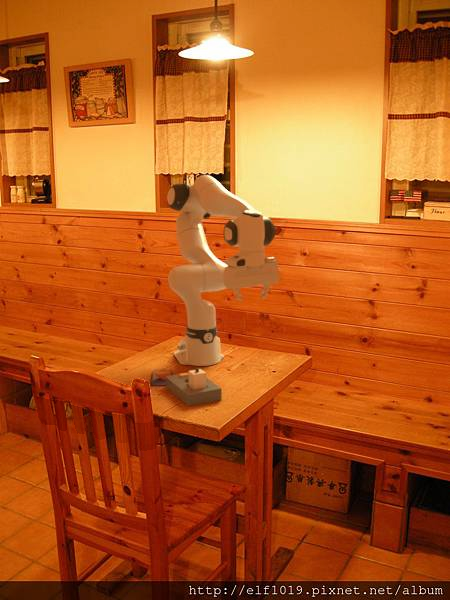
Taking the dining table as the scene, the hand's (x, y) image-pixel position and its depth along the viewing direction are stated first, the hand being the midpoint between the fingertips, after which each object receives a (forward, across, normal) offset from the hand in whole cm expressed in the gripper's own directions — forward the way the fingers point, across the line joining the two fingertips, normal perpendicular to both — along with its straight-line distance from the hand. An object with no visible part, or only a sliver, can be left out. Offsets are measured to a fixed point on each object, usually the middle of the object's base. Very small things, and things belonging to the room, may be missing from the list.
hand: (251, 298), depth 214 cm
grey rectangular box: (+31, +22, -2) cm, 38 cm away
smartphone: (+32, +26, -21) cm, 46 cm away
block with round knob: (+31, +22, +2) cm, 38 cm away
